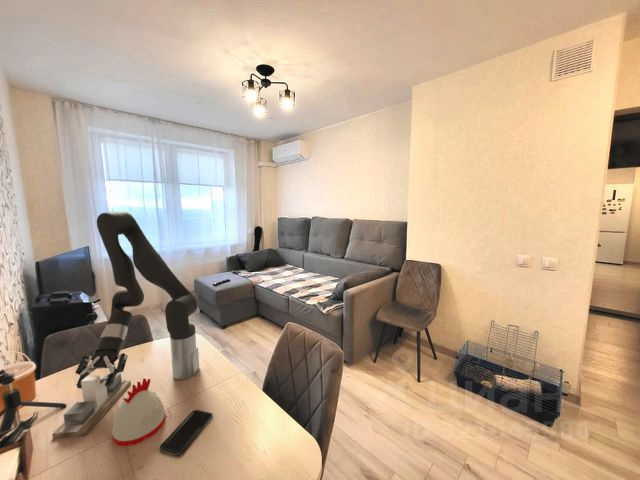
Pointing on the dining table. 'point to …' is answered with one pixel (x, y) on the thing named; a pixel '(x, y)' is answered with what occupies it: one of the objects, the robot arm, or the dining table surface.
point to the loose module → (94, 390)
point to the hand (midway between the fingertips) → (93, 387)
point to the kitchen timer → (138, 416)
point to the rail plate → (96, 416)
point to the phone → (185, 433)
